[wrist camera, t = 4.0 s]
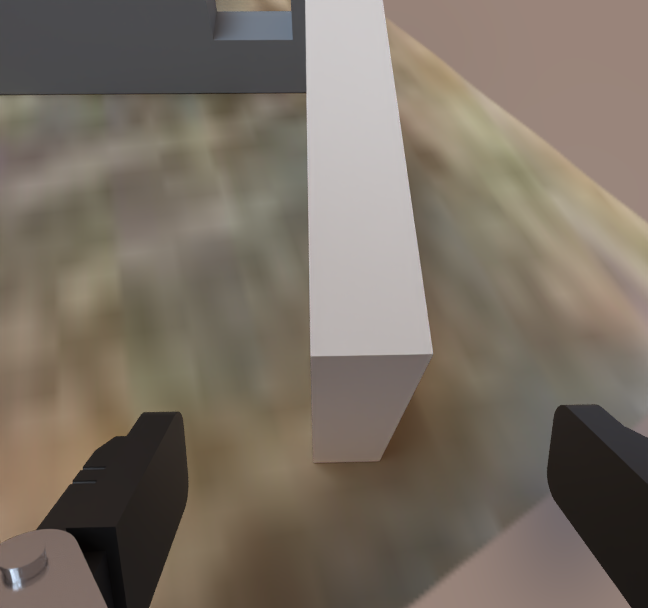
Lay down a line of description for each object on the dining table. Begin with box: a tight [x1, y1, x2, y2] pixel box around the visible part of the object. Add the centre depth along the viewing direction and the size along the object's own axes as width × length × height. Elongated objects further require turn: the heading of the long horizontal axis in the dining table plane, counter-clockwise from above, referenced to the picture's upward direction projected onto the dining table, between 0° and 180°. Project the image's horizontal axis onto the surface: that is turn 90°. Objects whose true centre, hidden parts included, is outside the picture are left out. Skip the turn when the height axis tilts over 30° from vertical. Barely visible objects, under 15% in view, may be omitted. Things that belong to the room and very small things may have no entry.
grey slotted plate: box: [0, 0, 307, 94], centre depth 26 cm, size 20×2×7 cm, turn 91°
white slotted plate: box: [305, 0, 433, 463], centre depth 19 cm, size 16×2×10 cm, turn 2°
